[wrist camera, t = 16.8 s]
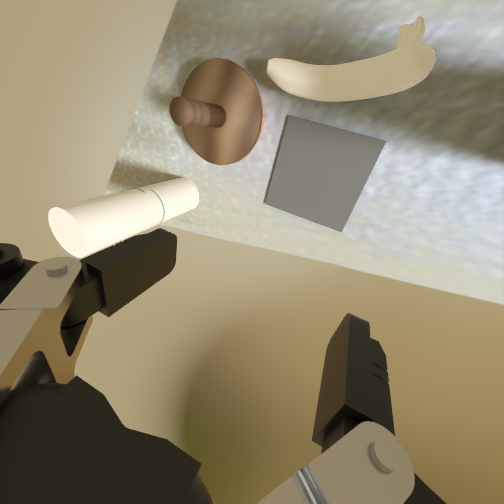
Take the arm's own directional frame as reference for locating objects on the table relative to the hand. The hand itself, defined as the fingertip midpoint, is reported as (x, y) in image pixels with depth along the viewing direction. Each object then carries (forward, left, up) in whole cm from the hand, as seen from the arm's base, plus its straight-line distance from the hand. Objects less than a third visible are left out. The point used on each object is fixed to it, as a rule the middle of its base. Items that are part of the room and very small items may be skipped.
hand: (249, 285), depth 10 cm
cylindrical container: (+28, +13, -34) cm, 46 cm away
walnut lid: (+19, -4, -29) cm, 35 cm away
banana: (+4, -12, -34) cm, 36 cm away
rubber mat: (+2, +1, -34) cm, 34 cm away
